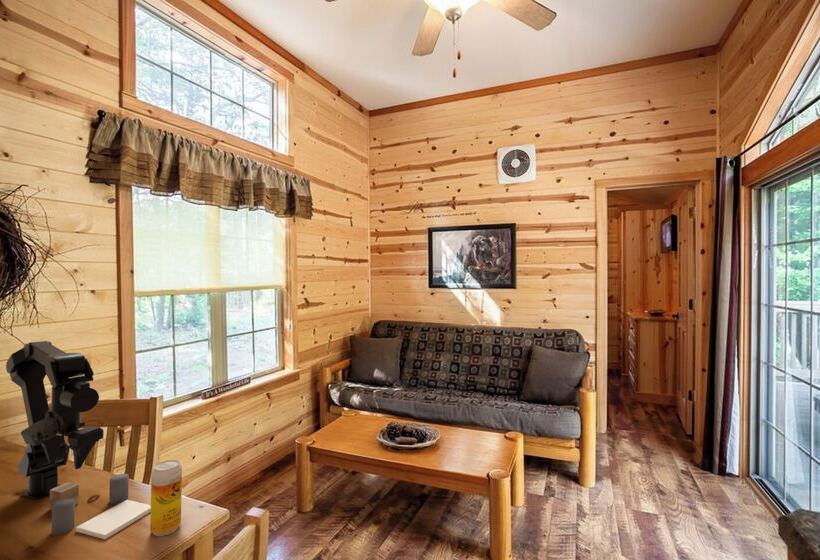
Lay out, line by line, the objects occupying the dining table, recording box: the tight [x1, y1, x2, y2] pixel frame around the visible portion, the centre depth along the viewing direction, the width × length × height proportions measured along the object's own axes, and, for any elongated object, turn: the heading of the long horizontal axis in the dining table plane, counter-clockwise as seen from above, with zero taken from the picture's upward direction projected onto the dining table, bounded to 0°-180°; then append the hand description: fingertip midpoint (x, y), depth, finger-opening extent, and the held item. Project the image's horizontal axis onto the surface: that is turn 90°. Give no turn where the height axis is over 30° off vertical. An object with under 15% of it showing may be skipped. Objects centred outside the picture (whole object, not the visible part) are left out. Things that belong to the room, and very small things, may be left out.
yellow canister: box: [149, 459, 183, 537], centre depth 92 cm, size 6×6×15 cm
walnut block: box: [49, 481, 80, 511], centre depth 100 cm, size 4×4×5 cm
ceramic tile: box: [75, 499, 151, 540], centre depth 95 cm, size 9×12×1 cm
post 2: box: [108, 473, 130, 506], centre depth 104 cm, size 4×4×6 cm
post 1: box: [50, 499, 76, 536], centre depth 91 cm, size 4×4×6 cm
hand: (65, 465), depth 101 cm, fingers open, 9 cm apart
